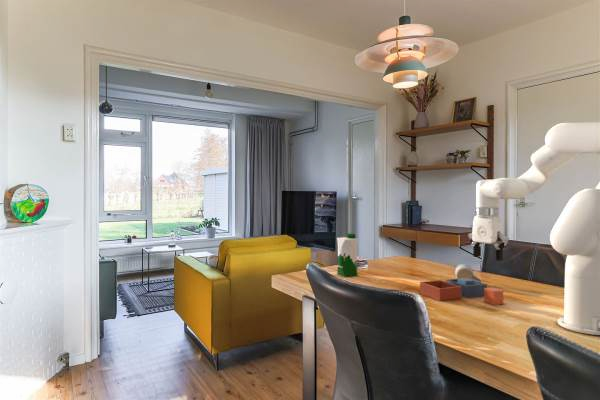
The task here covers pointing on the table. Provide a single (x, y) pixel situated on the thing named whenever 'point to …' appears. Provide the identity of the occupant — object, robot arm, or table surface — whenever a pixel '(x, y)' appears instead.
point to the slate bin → (470, 288)
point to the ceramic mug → (465, 272)
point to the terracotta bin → (440, 290)
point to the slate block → (465, 281)
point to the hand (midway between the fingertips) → (487, 258)
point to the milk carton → (347, 255)
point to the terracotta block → (493, 296)
